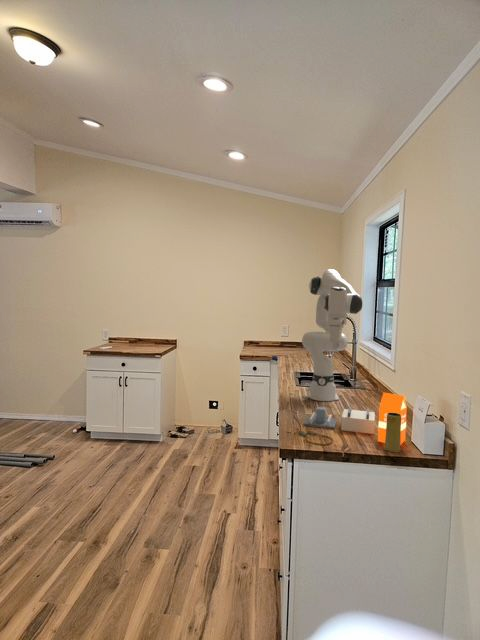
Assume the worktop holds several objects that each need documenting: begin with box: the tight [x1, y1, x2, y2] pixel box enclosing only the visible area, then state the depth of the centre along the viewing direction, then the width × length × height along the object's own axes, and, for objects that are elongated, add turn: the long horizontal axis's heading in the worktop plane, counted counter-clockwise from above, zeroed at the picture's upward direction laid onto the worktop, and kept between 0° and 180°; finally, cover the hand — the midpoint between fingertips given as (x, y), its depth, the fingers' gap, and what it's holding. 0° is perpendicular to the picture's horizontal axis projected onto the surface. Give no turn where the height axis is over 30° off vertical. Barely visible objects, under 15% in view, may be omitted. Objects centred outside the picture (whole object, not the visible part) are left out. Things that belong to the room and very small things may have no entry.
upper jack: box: [340, 405, 376, 435], centre depth 192 cm, size 14×14×8 cm
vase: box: [383, 412, 402, 453], centre depth 164 cm, size 6×6×14 cm
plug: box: [315, 406, 327, 423], centre depth 197 cm, size 4×4×6 cm
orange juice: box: [377, 391, 408, 445], centre depth 174 cm, size 8×9×20 cm
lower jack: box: [303, 411, 338, 430], centre depth 197 cm, size 14×14×3 cm
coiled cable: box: [298, 429, 334, 446], centre depth 175 cm, size 12×16×2 cm
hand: (335, 348), depth 203 cm, fingers open, 8 cm apart
